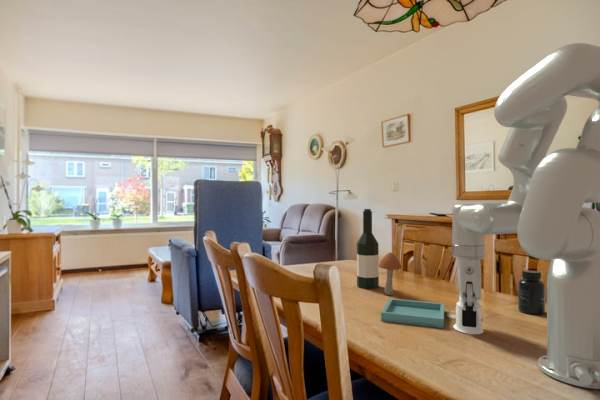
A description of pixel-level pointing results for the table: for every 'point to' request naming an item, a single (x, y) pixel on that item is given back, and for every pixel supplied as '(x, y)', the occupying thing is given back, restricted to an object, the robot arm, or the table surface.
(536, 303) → the supplement bottle
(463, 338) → the table surface
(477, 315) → the downlight
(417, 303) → the tray
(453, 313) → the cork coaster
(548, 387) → the table surface
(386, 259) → the mushroom
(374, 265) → the wine bottle
